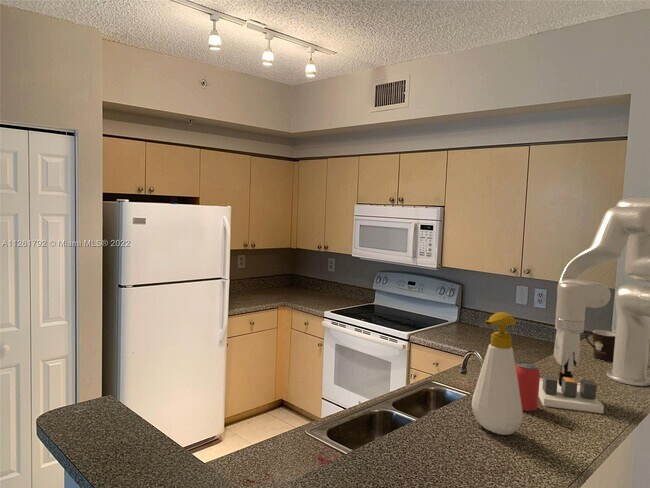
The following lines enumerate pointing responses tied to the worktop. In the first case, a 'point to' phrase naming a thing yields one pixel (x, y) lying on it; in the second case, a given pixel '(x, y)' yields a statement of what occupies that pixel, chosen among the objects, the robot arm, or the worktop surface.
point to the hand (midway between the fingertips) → (564, 385)
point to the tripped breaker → (569, 387)
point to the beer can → (528, 385)
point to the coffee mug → (603, 344)
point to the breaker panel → (555, 398)
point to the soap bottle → (498, 383)
